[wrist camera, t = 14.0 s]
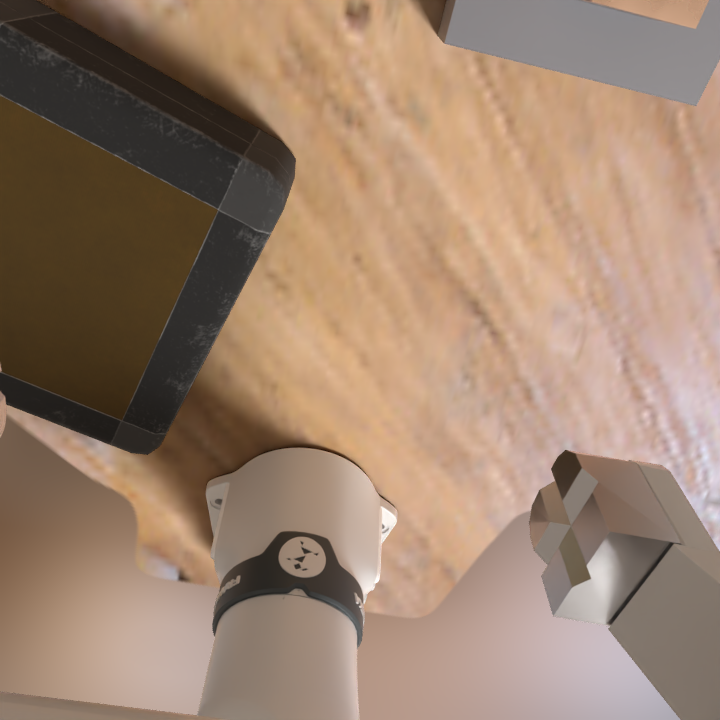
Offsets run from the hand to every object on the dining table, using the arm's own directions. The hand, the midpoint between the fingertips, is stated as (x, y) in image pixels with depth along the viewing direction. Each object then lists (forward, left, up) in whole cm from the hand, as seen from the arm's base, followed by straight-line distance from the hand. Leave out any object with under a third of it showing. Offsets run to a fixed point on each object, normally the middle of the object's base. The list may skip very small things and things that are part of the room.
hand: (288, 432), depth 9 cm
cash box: (-14, +15, -35) cm, 40 cm away
